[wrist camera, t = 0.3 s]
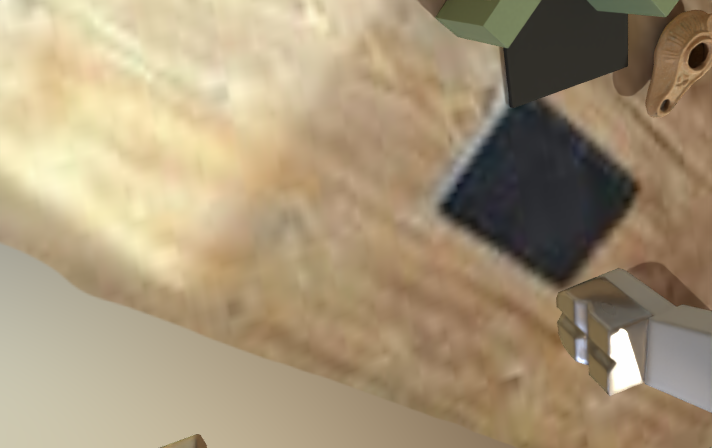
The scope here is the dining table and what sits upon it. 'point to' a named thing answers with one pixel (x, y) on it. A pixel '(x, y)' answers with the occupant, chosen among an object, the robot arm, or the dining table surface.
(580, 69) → the word mat
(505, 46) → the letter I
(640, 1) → the letter H
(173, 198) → the dining table surface
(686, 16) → the pottery oil lamp
